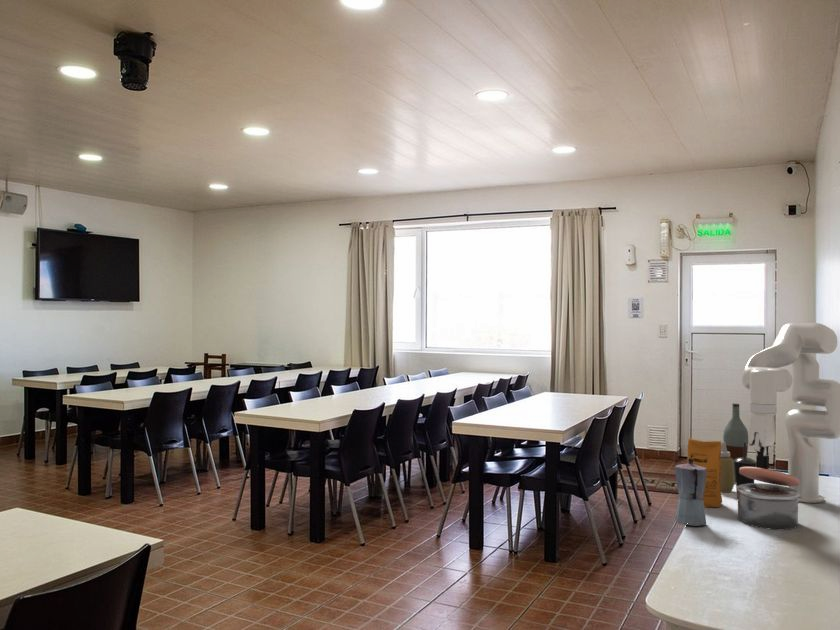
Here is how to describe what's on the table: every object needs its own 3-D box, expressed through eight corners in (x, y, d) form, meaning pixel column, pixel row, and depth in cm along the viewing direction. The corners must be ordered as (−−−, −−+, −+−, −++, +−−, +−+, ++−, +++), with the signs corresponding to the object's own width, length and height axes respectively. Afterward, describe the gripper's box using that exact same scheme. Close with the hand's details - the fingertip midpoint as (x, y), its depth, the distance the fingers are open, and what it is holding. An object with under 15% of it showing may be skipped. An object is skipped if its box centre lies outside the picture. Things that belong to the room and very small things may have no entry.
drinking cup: (755, 503, 246) (755, 445, 246) (731, 500, 250) (731, 443, 250) (758, 498, 252) (758, 442, 252) (734, 495, 256) (734, 440, 256)
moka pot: (700, 517, 229) (700, 454, 229) (715, 531, 213) (715, 464, 213) (669, 516, 230) (669, 454, 230) (682, 530, 214) (682, 464, 214)
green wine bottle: (754, 482, 277) (754, 404, 277) (734, 483, 275) (734, 405, 275) (737, 476, 286) (737, 402, 286) (717, 478, 284) (717, 402, 284)
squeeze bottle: (738, 493, 259) (739, 444, 259) (716, 493, 259) (716, 443, 259) (729, 488, 267) (729, 440, 267) (707, 488, 267) (708, 440, 267)
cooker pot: (749, 510, 237) (749, 480, 237) (807, 521, 224) (807, 489, 224) (727, 521, 224) (727, 489, 224) (787, 533, 212) (787, 499, 212)
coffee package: (686, 498, 253) (686, 435, 253) (724, 502, 246) (724, 439, 246) (680, 504, 244) (681, 440, 244) (719, 509, 238) (720, 443, 238)
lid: (750, 480, 236) (751, 472, 237) (805, 489, 224) (807, 481, 225) (730, 467, 225) (732, 459, 226) (788, 476, 213) (789, 467, 214)
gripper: (759, 406, 229) (759, 463, 229) (741, 410, 219) (740, 470, 219) (784, 408, 224) (784, 466, 224) (766, 412, 213) (766, 474, 213)
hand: (762, 468), depth 221 cm, fingers closed
